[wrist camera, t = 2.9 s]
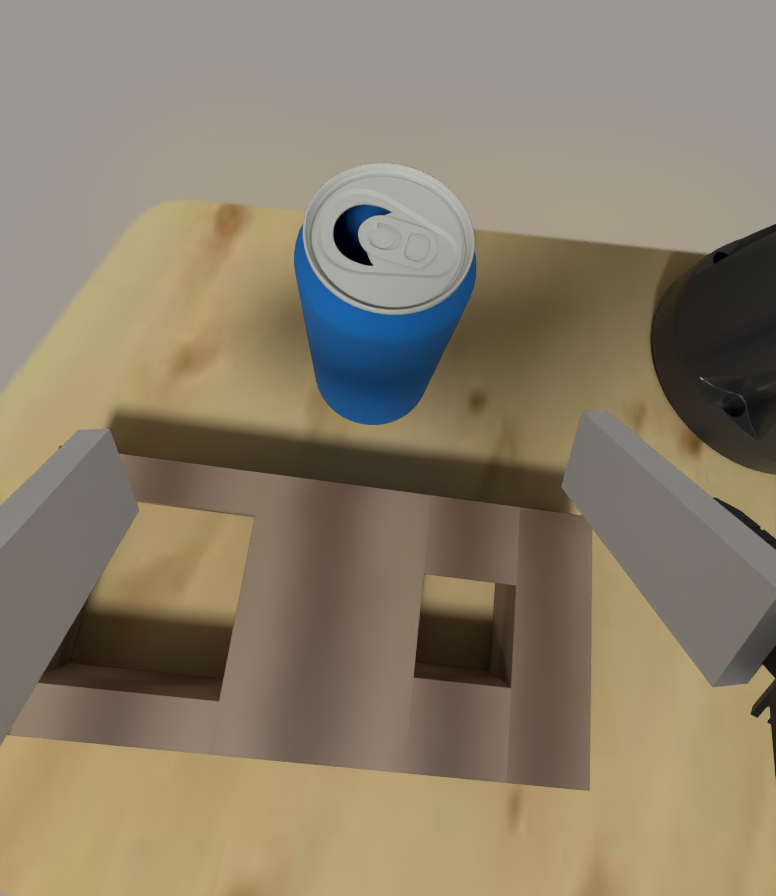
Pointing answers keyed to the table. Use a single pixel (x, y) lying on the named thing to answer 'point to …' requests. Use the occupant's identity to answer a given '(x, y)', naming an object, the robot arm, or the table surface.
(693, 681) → the table surface
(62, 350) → the table surface
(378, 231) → the beverage can
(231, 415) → the table surface
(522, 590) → the hole board
